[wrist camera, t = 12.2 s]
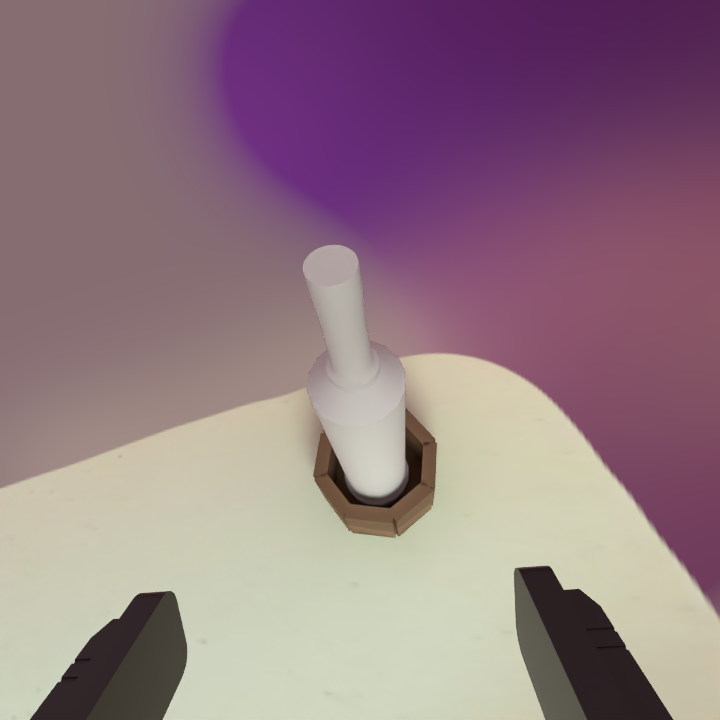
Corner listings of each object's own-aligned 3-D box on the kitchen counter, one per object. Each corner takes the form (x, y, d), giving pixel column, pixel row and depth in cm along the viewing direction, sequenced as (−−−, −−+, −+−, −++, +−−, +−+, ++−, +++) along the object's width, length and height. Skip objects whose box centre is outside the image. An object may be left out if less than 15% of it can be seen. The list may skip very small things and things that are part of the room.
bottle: (415, 504, 36) (416, 307, 15) (351, 516, 36) (261, 335, 15) (402, 444, 39) (388, 205, 18) (343, 454, 39) (258, 229, 18)
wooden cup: (318, 529, 37) (306, 513, 33) (335, 426, 41) (326, 401, 37) (431, 541, 35) (433, 527, 31) (435, 434, 40) (438, 409, 36)
